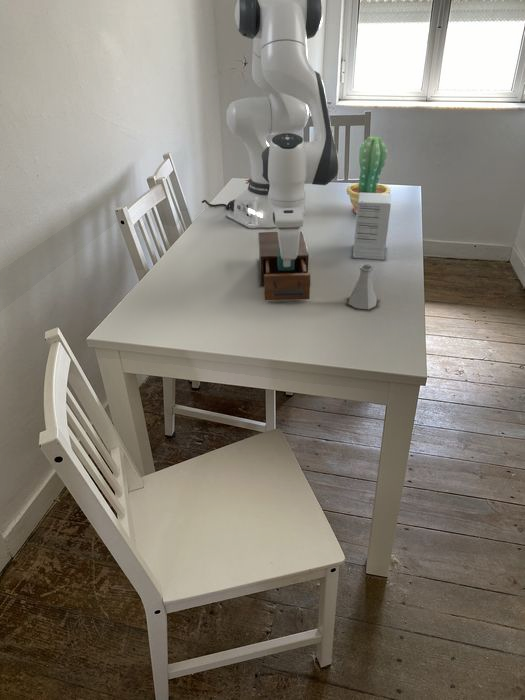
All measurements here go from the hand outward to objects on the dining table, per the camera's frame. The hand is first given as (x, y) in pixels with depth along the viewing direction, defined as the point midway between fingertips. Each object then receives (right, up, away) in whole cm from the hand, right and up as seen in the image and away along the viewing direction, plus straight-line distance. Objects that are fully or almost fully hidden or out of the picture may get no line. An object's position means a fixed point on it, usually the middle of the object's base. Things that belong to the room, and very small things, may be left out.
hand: (285, 261), depth 134 cm
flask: (+19, -11, 0) cm, 22 cm away
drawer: (0, -7, +4) cm, 8 cm away
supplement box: (+26, +7, +25) cm, 37 cm away
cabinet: (0, 0, +15) cm, 15 cm away
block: (0, -1, +1) cm, 2 cm away
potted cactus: (+31, +27, +55) cm, 69 cm away
